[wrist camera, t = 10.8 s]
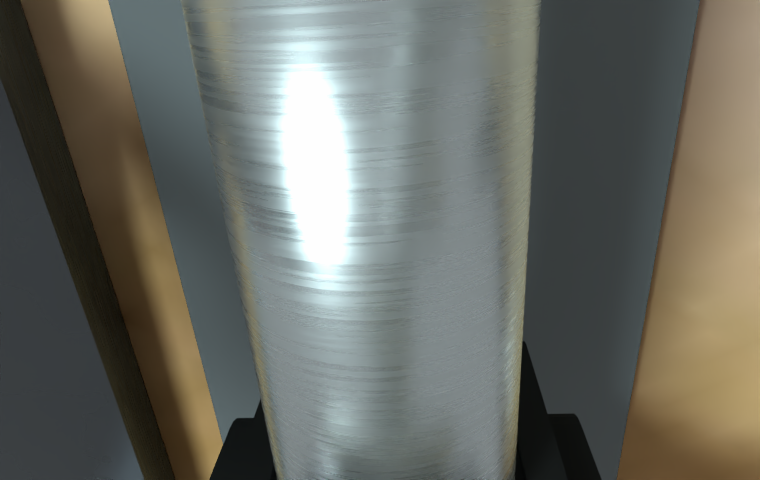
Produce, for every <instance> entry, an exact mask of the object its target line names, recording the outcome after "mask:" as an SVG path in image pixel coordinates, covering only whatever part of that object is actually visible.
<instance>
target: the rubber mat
mask: <svg viewBox="0 0 760 480" xmlns="http://www.w3.org/2000/svg"><path fill="white" fill-rule="evenodd" d="M108 1H109V5H110V9H111V13H112V17H113V20H114V24H115V28H116V32H117V36H118V40H119V44H120V47H121V51H122V55H123V59H124V63H125V67H126V71H127V74H128V78H129V82H130V86H131V90H132V94H133V98H134V102H135V105H136V109H137V113H138V117H139V121H140V125H141V129H142V132H143V136H144V140H145V144H146V148H147V152H148V156H149V159H150V163H151V167H152V171H153V175H154V179H155V183H156V186H157V190H158V194H159V198H160V202H161V206H162V210H163V214H164V217H165V221H166V225H167V229H168V233H169V237H170V241H171V244H172V248H173V252H174V256H175V260H176V264H177V268H178V271H179V275H180V279H181V283H182V287H183V291H184V295H185V299H186V302H187V306H188V310H189V314H190V318H191V322H192V326H193V329H194V333H195V337H196V341H197V345H198V349H199V353H200V356H201V360H202V364H203V368H204V372H205V376H206V380H207V384H208V387H209V391H210V395H211V399H212V403H213V407H214V411H215V414H216V418H217V422H218V426H219V430H220V434H221V438H222V441H223V444H224V441H225V439H226V436H227V434H228V431H229V429H230V427H231V425H232V423H233V421H234V420H235V419H236V418H254V416H255V413H256V410H257V407H258V404H259V402H260V399H261V397H260V392H259V387H258V382H257V377H256V372H255V367H254V363H253V358H252V353H251V348H250V343H249V338H248V333H247V328H246V323H245V318H244V313H243V308H242V303H241V298H240V293H239V288H238V283H237V278H236V273H235V268H234V263H233V258H232V253H231V248H230V243H229V239H228V234H227V229H226V224H225V219H224V214H223V209H222V204H221V199H220V194H219V189H218V184H217V179H216V174H215V169H214V164H213V159H212V154H211V149H210V144H209V139H208V134H207V129H206V124H205V119H204V114H203V110H202V105H201V100H200V95H199V90H198V85H197V80H196V75H195V70H194V65H193V60H192V55H191V50H190V45H189V40H188V35H187V30H186V25H185V20H184V15H183V10H182V5H181V0H108ZM699 2H700V0H541V14H540V32H539V50H538V68H537V86H536V104H535V122H534V140H533V158H532V177H531V195H530V213H529V231H528V249H527V267H526V285H525V303H524V321H523V339H522V341H525V343H526V345H527V348H528V352H529V355H530V358H531V361H532V365H533V368H534V371H535V374H536V378H537V381H538V384H539V387H540V391H541V394H542V397H543V400H544V404H545V407H546V410H547V413H548V414H572V413H574V414H575V415H576V416H577V417H578V419H579V421H580V423H581V426H582V429H583V431H584V434H585V437H586V439H587V442H588V445H589V447H590V450H591V453H592V455H593V458H594V461H595V463H596V466H597V469H598V471H599V474H600V477H601V479H602V480H616V479H617V474H618V468H619V462H620V456H621V451H622V445H623V439H624V433H625V428H626V422H627V416H628V410H629V405H630V399H631V393H632V387H633V382H634V376H635V370H636V364H637V359H638V353H639V347H640V341H641V336H642V330H643V324H644V318H645V313H646V307H647V301H648V295H649V290H650V284H651V278H652V272H653V267H654V261H655V255H656V249H657V244H658V238H659V232H660V226H661V221H662V215H663V209H664V203H665V198H666V192H667V186H668V180H669V175H670V169H671V163H672V157H673V152H674V146H675V140H676V134H677V129H678V123H679V117H680V111H681V105H682V100H683V94H684V88H685V82H686V77H687V71H688V65H689V59H690V54H691V48H692V42H693V36H694V31H695V25H696V19H697V13H698V8H699Z"/></svg>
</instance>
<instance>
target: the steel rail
mask: <svg viewBox="0 0 760 480" xmlns="http://www.w3.org/2000/svg"><path fill="white" fill-rule="evenodd" d="M181 5H182V10H183V15H184V20H185V25H186V30H187V35H188V40H189V45H190V50H191V55H192V60H193V65H194V70H195V75H196V80H197V85H198V90H199V95H200V100H201V105H202V110H203V114H204V119H205V124H206V129H207V134H208V139H209V144H210V149H211V154H212V159H213V164H214V169H215V174H216V179H217V184H218V189H219V194H220V199H221V204H222V209H223V214H224V219H225V224H226V229H227V234H228V239H229V243H230V248H231V253H232V258H233V263H234V268H235V273H236V278H237V283H238V288H239V293H240V298H241V303H242V308H243V313H244V318H245V323H246V328H247V333H248V338H249V343H250V348H251V353H252V358H253V363H254V367H255V372H256V377H257V382H258V387H259V392H260V397H261V402H262V407H263V412H264V417H265V422H266V427H267V432H268V437H269V442H270V447H271V452H272V457H273V462H274V467H275V472H276V477H277V480H515V465H516V447H517V429H518V411H519V393H520V375H521V357H522V339H523V321H524V303H525V285H526V267H527V249H528V231H529V213H530V195H531V177H532V158H533V140H534V122H535V104H536V86H537V68H538V50H539V32H540V14H541V0H181Z"/></svg>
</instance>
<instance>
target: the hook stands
mask: <svg viewBox="0 0 760 480" xmlns="http://www.w3.org/2000/svg"><path fill="white" fill-rule="evenodd" d="M0 480H175V479H174V476H173V472H172V469H171V466H170V463H169V460H168V457H167V454H166V451H165V448H164V445H163V442H162V438H161V435H160V432H159V429H158V426H157V423H156V420H155V417H154V414H153V411H152V408H151V404H150V401H149V398H148V395H147V392H146V389H145V386H144V383H143V380H142V377H141V374H140V370H139V367H138V364H137V361H136V358H135V355H134V352H133V349H132V346H131V343H130V340H129V336H128V333H127V330H126V327H125V324H124V321H123V318H122V315H121V312H120V309H119V306H118V302H117V299H116V296H115V293H114V290H113V287H112V284H111V281H110V278H109V275H108V272H107V268H106V265H105V262H104V259H103V256H102V253H101V250H100V247H99V244H98V241H97V238H96V235H95V231H94V228H93V225H92V222H91V219H90V216H89V213H88V210H87V207H86V204H85V201H84V197H83V194H82V191H81V188H80V185H79V182H78V179H77V176H76V173H75V170H74V167H73V163H72V160H71V157H70V154H69V151H68V148H67V145H66V142H65V139H64V136H63V133H62V129H61V126H60V123H59V120H58V117H57V114H56V111H55V108H54V105H53V102H52V99H51V95H50V92H49V89H48V86H47V83H46V80H45V77H44V74H43V71H42V68H41V65H40V61H39V58H38V55H37V52H36V49H35V46H34V43H33V40H32V37H31V34H30V31H29V28H28V24H27V21H26V18H25V15H24V12H23V9H22V6H21V3H20V0H0Z"/></svg>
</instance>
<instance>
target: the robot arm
mask: <svg viewBox="0 0 760 480" xmlns="http://www.w3.org/2000/svg"><path fill="white" fill-rule="evenodd" d="M209 480H277V477H276V472H275V467H274V462H273V457H272V452H271V447H270V442H269V437H268V432H267V427H266V422H265V417H264V412H263V407H262V402H261V399H260V402H259V404H258V407H257V410H256V413H255V416H254V418H236V419H235V420H234V421H233V423H232V425H231V427H230V429H229V431H228V434H227V436H226V439H225V441H224V444H223V446H222V449H221V452H220V454H219V457H218V459H217V462H216V464H215V467H214V469H213V472H212V474H211V477H210V479H209ZM515 480H602V479H601V477H600V474H599V471H598V469H597V466H596V463H595V461H594V458H593V455H592V453H591V450H590V447H589V445H588V442H587V439H586V437H585V434H584V431H583V429H582V426H581V423H580V421H579V419H578V417H577V416H576V415H575V414H574V413H572V414H548V413H547V410H546V407H545V404H544V400H543V397H542V394H541V391H540V387H539V384H538V381H537V378H536V374H535V371H534V368H533V365H532V361H531V358H530V355H529V352H528V348H527V345H526V343H525V341H522V357H521V375H520V393H519V411H518V429H517V447H516V465H515Z"/></svg>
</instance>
